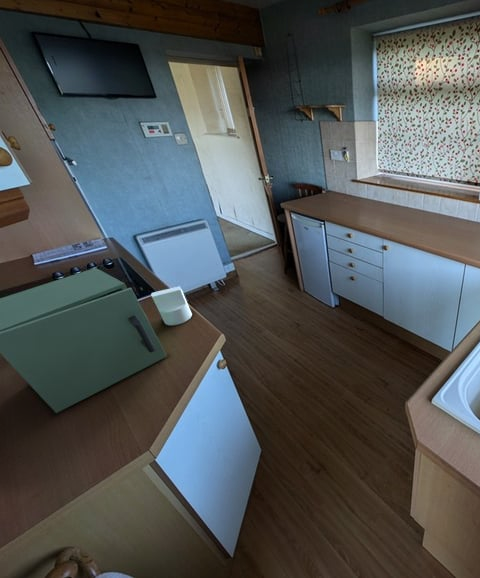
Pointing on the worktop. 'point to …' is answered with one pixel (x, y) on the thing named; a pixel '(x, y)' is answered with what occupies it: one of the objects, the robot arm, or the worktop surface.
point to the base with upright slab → (172, 305)
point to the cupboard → (56, 297)
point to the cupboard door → (82, 348)
